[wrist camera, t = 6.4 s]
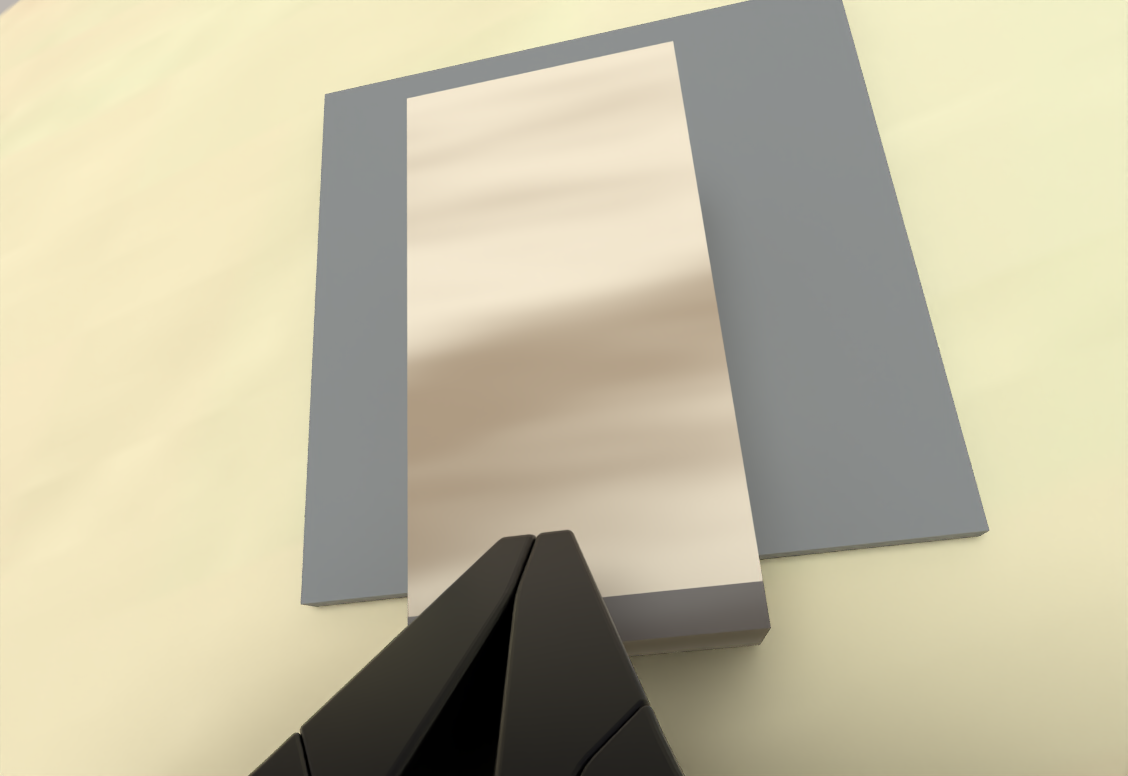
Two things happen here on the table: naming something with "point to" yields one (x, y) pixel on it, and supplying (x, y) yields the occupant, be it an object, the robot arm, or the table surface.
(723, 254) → the mat
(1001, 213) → the table surface
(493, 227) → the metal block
